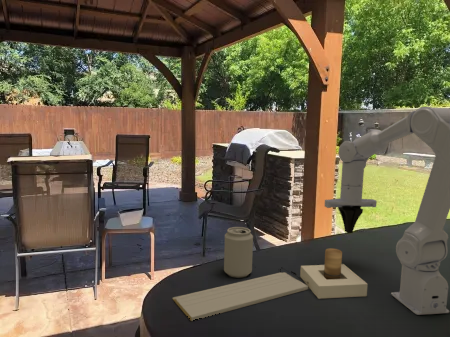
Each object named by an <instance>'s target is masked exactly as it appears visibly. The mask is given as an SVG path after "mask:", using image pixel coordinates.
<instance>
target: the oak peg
mask: <svg viewBox="0 0 450 337" xmlns="http://www.w3.org/2000/svg"><path fill="white" fill-rule="evenodd" d="M342 260H343V251H342V250H341V249H339V248H330V247H329V248H326V249H325V252H324V265H325V266H324V277H325V278H326V279H327V280H328V279H341V264H343V263H342V262H343V261H342Z"/></svg>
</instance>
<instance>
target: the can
mask: <svg viewBox="0 0 450 337" xmlns="http://www.w3.org/2000/svg"><path fill="white" fill-rule="evenodd" d="M226 231H227V232H226V233H225V234H224V248H223V249H224V253H223V257H224V258H223V271H224V273H225V274H227V275H228V276H229V277H232V278H238V279H239V278H240V279H241V278H246V277H247V276H249V274H251V273H252V271H253V253H254V252H253V250H254V249H253V248H254V247H253V245H254V235H253V234H252V233H251V232H252V230H251V229H249V228H248V227H243V226H233V227H229V228H228V229H227V230H226Z"/></svg>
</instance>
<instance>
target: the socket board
mask: <svg viewBox="0 0 450 337" xmlns="http://www.w3.org/2000/svg"><path fill="white" fill-rule="evenodd" d="M324 266H325V264H319V265H317V264H314V265H311V264H310V265H300V275H299V278H301V280H302V281H303V282H304V284H306V285H307V286H308V289H309V290H311V292H312V293H313V294H314V295H315V296H316V297H317V299H319V300H320V299H337V298H338V299H339V298H354V297H356V298H357V297H367V296H368V285H369V284H368V283H367V282H366V281H365V280H364V279H362V278H361V277H360V276H359V275H357V274H356V273H355V272H354V271H352V270H351V269H350V268H349V267H348V266H346V265H345V264H344V263H342V264H341V279H328V280H327V279H326V278H325V277H324ZM305 281H306V282H305ZM307 282H308V283H307Z"/></svg>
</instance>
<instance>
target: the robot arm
mask: <svg viewBox="0 0 450 337" xmlns="http://www.w3.org/2000/svg"><path fill="white" fill-rule="evenodd" d="M411 134H414V135H415V136H416V137H417V138H419V139H420V140H421V142H424V143H425V144H426V145H427V146H428V147H429V148H430V149H431V150H432V152H433V153H434V155H435V158H434V160H433V163H432V167H431V170H430V172H429V173H430V174H429V176H428V180H427V182H426V184H425V189H424V191H423V195H422V198H421V202H420V205H419V207H418V212H417V214H416V218H415V220H414V222H413V223H412V224H410V225H409V227H407V228H406V229H405V230H404V233H403V235H402V237H401V238H400V239H398V241H397V243H396V246H395V253H396V256H397V258H398V261H399V262H400V264H401V273H400V275H401V276H400V286H399V287H400V288H399V291H394V292H391V293H390V295H391V296H392V297H394V298H395V299H396V300H397V301H398V302H399V303H401V304H402V305H404V306H405V307H406V308H408V310H410V311H411V312H412V313H413V314H415V315H419V316H420V315H436V314H449V313H450V310H449V309H448V308H447V303H448V294H449V283H448V281H447V279H446V278H445V277H444V276H443V275H442V274H441V273H440V271H439V270H440V269H439V267H441V262H442V261H443V260H445V259H446V257H447V256H448V253H449V252H448V240H449V234H448V233H447V232H446V231H445V230H444V227H445V224H446V221H447V218H448V216H449V213H450V107H449V108H448V107H447V108H446V107H444V108H443V107H431V106H422V107H419V108H417V109H415V110H412V111H410V112H408V114H407V115H406V116H404V117H403V118H401V119H400V120H398V121H396V122H394V123H393V124H391V125H390V126H387V127H386V128H384V129H383V130H380V129H375V128H370V129H368V130H367V132H366V133H364V135H361V136H356V137H355V138H354V140H353V141H350V140H345V141H343V142H342V143H341V144H340V145H339V147H338V157H339V159H340V161H341V162H342V165H341V179H340V181H341V182H340V195H339V198H332V199H324V207H325V208H327V209H331V208H337V209H338V211H339V213H340V215H341V216H340V217H341V218H342V221H343V222H342V223H343V227H344V232H346V233H347V234H353V232H354V229H355V226H356V224H357V222H358V220H359V219H360V217H361V215H362V214H363V212H364V209H363V208H377V202H378V201H377V200H376V199H373V198H369V199H368V198H363V189H364V188H363V185H364V176H365V174H364V173H365V168H366V167H367V161H368V160H369V159H370V157H372V156H373V155H378V154H379V153H381V152H383V151H385V150H386V149H387V148H388V146H389V143H392V142H394V141H397V140H399V139H402V138H405V137H406V136H410V135H411Z"/></svg>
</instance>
